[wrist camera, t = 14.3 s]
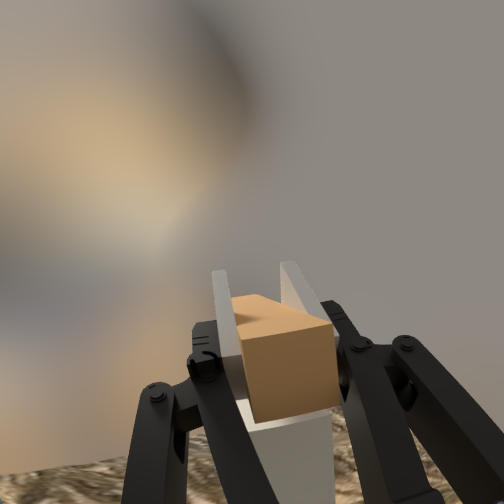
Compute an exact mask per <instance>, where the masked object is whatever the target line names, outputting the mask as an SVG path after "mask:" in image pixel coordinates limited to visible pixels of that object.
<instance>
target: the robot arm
mask: <svg viewBox="0 0 504 504" xmlns="http://www.w3.org/2000/svg"><path fill="white" fill-rule="evenodd" d="M280 272H281V273H280V274H281V303H282V304H283V305H285V306H288V307H290V308H293V309H296V310H298V311H301V312H304V313H306V314H309V315H312V316H315V317H318V318H320V319H323V320H326V321H328V322H331V323H333V329H334V338H335V347H336V357H337V368H338V380H339V392H340V402H341V406H342V409H343V413H344V417H345V421H346V425H347V429H348V433H349V437H350V441H351V445H352V450H353V454H354V458H355V462H356V467H357V471H358V475H359V480H360V484H361V489H362V493H363V498H364V503H365V504H445V501H444V498H443V496H442V494H441V493H440V492H439V491H438V490H437V489H434V488H432V487H431V486H430V484H429V482H428V479H427V476H426V473H425V470H424V467H423V464H422V461H421V459H420V456H419V453H418V450H417V448H416V445H415V442H414V439H413V437H412V434H411V432H410V429H411V430H412V432H413V433H414V435H415V436H416V437H417V439H418V440H419V442H420V443H421V444H422V446H423V447H424V449H425V450H426V451H427V453H428V454H429V456H430V457H431V458H432V460H433V461H434V463H435V464H436V466H437V467H438V468H439V470H440V471H441V473H442V474H443V476H444V477H445V478H446V480H447V481H448V483H449V484H450V486H451V487H452V488H453V490H454V491H455V493H456V494H457V496H458V497H459V499H460V500H461V502H462V503H463V504H504V433H503V432H502V431H501V430H500V429H499V427H498V426H497V425H496V424H495V423H494V422H493V420H492V419H491V418H490V417H489V416H488V415H487V414H486V412H485V411H484V410H483V409H482V408H481V407H480V406H479V404H478V403H477V402H476V401H475V400H474V399H473V398H472V397H471V396H470V394H469V393H468V392H467V391H466V390H465V389H464V388H463V387H462V386H461V385H460V384H459V382H458V381H457V380H456V379H455V378H454V377H453V376H452V375H451V374H450V373H449V372H448V371H447V370H446V369H445V368H444V366H442V364H441V363H440V362H439V361H438V360H437V359H436V358H435V357H434V356H433V355H432V354H431V353H430V352H429V351H428V350H427V349H426V348H425V347H424V346H423V345H422V344H421V342H420V341H419V340H417V339H416V338H415V337H412V336H409V335H401V336H398V337H396V338H395V339H394V340H393V342H392V344H391V345H377V344H373V342H372V341H371V340H370V339H368V338H366V337H363V336H360V334H359V333H358V331H357V330H356V328H355V327H354V325H353V324H352V322H351V321H350V319H349V318H348V316H347V315H346V313H345V312H344V310H343V309H342V307H341V306H340V305H339V304H337V303H336V302H334V301H333V300H330V301H325V302H319V301H318V299H317V297H316V295H315V294H314V292H313V291H312V289H311V287H310V286H309V284H308V282H307V281H306V279H305V278H304V276H303V274H302V273H301V271H300V270H299V268H298V266H297V265H296V263H295V262H294V260H288V261H281V262H280ZM211 273H212V282H213V291H214V300H215V308H216V317H217V320H214V321H206V322H199V323H196V324H195V326H194V328H193V330H192V345H193V346H192V350H193V353H192V354H191V355H190V356H189V357H188V359H187V368H188V371H189V374H190V377H189V378H188V379H187V380H185V381H184V382H182V383H180V384H177V385H175V386H172V387H171V386H170V385H169V384H166V383H163V382H156V383H152V384H150V385H148V386H147V387H146V388H144V389H143V391H142V393H141V396H140V400H139V405H138V409H137V414H136V419H135V424H134V429H133V435H132V439H131V445H130V450H129V456H128V462H127V467H126V473H125V480H124V486H123V493H122V500H121V504H186V492H187V466H188V446H189V431H191V430H194V429H196V428H199V427H202V426H204V430H205V433H206V437H207V440H208V444H209V447H210V450H211V454H212V457H213V460H214V463H215V466H216V470H217V473H218V476H219V479H220V482H221V485H222V488H223V491H224V494H225V497H226V499H227V502H228V504H279V502H278V500H277V497H276V495H275V493H274V491H273V489H272V486H271V484H270V482H269V480H268V478H267V475H266V473H265V471H264V468H263V466H262V464H261V462H260V459H259V457H258V455H257V452H256V450H255V447H254V445H253V443H252V440H251V438H250V435H249V433H248V431H247V428H246V426H245V423H244V421H243V418H242V416H241V413H240V411H239V408H238V405H237V403H236V401H237V400H243V399H248V397H247V390H246V383H245V376H244V368H243V361H242V354H241V349H240V344H239V339H238V334H237V329H236V321H235V316H234V311H233V306H232V301H231V296H230V291H229V286H228V280H227V276H226V270H217V271H212V272H211ZM409 428H410V429H409ZM0 504H2V501H1V499H0Z"/></svg>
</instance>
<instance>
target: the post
mask: <svg viewBox="0 0 504 504" xmlns="http://www.w3.org/2000/svg"><path fill="white" fill-rule="evenodd" d="M236 403H237V405H238V408H239V411H240V413H241V416H242V418H243V421H244V423H245V426H246V428H247V431H248V433H249V435H250V438H251V440H252V443H253V445H254V447H255V450H256V452H257V455H258V457H259V459H260V462H261V464H262V466H263V468H264V471H265V473H266V475H267V478H268V480H269V482H270V484H271V486H272V489H273V491H274V493H275V495H276V497H277V500H278V502H279V504H335V473H334V452H333V435H332V420H331V414H330V413H329V411H328V410H327V409H323V410H319V411H315V412H311V413H307V414H302V415H298V416H294V417H289V418H284V419H279V420H274V421H269V422H263V423H258V424H255V423H254V419H253V415H252V412H251V408H250V404H249V400H248V399H243V400H237V401H236ZM226 500H227V499H226ZM227 503H228V502H227Z"/></svg>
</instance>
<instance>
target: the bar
mask: <svg viewBox="0 0 504 504" xmlns="http://www.w3.org/2000/svg"><path fill="white" fill-rule="evenodd" d="M231 301H232V306H233V311H234V316H235V321H236V329H237V334H238V339H239V344H240V349H241V354H242V361H243V368H244V376H245V383H246V390H247V397H248V400H249V404H250V408H251V412H252V415H253V419H254V423H255V424H258V423H263V422H269V421H274V420H279V419H284V418H289V417H294V416H298V415H302V414H307V413H311V412H315V411H319V410H323V409H327V408H331V407H334V406H338V405H340V392H339V380H338V368H337V357H336V347H335V338H334V329H333V323H331V322H328V321H326V320H323V319H320V318H318V317H315V316H312V315H309V314H306V313H304V312H301V311H298V310H296V309H293V308H290V307H288V306H285V305H283V304H280V303H278V302H275V301H273V300H270V299H267V298H265V297H262V296H260V295H257V294H253V295H247V296H240V297H233V298H231Z"/></svg>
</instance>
